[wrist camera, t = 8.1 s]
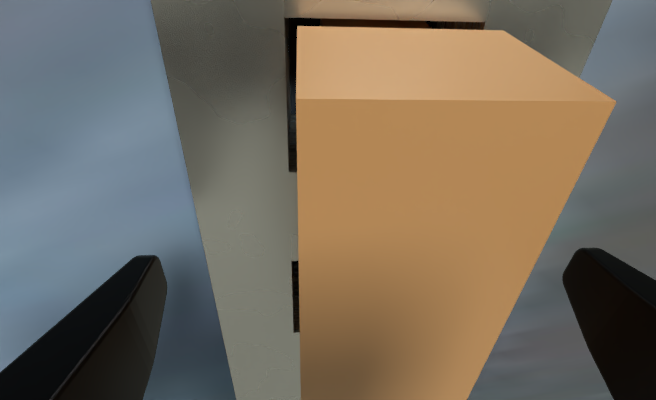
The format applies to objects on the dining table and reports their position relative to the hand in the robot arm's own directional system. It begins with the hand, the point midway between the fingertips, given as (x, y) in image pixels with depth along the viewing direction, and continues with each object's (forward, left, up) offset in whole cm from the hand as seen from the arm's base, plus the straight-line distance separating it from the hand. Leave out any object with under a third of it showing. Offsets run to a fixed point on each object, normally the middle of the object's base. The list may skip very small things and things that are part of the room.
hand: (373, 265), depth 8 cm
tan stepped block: (0, 0, -4) cm, 5 cm away
